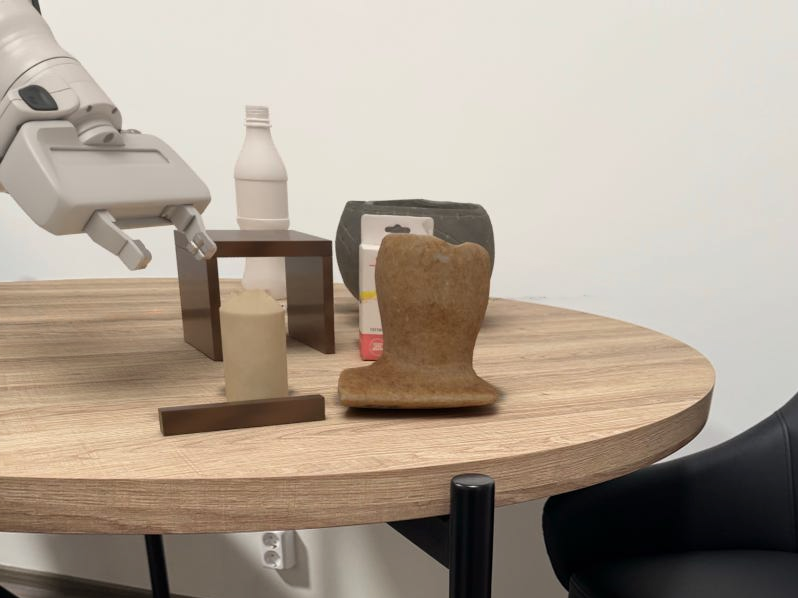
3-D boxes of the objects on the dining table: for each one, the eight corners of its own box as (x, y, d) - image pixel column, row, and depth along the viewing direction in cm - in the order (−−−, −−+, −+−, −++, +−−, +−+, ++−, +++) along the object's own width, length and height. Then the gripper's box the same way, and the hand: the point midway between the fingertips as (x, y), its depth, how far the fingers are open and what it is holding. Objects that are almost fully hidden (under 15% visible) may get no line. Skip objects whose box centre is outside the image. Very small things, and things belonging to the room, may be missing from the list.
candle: (285, 415, 83) (279, 296, 79) (222, 413, 83) (212, 294, 78) (291, 400, 88) (286, 287, 84) (231, 398, 88) (223, 285, 83)
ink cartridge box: (361, 361, 105) (359, 217, 98) (358, 352, 109) (357, 213, 102) (437, 362, 106) (441, 220, 100) (432, 353, 111) (435, 216, 104)
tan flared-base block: (481, 389, 96) (488, 229, 89) (507, 420, 85) (517, 241, 78) (330, 389, 93) (326, 223, 86) (339, 421, 82) (334, 236, 75)
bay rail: (164, 435, 76) (161, 411, 75) (160, 432, 77) (157, 407, 76) (325, 419, 83) (324, 396, 82) (320, 416, 84) (319, 393, 83)
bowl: (435, 345, 115) (438, 211, 108) (304, 323, 124) (299, 198, 117) (520, 324, 131) (527, 206, 124) (398, 305, 140) (399, 195, 133)
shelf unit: (214, 361, 101) (204, 241, 96) (184, 340, 110) (173, 229, 105) (335, 353, 108) (332, 240, 102) (297, 334, 117) (292, 229, 111)
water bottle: (242, 309, 132) (228, 103, 120) (242, 301, 138) (229, 105, 126) (294, 310, 133) (285, 107, 121) (292, 302, 139) (283, 108, 127)
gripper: (128, 157, 91) (225, 273, 92) (-43, 156, 73) (80, 298, 75) (162, 105, 87) (261, 226, 89) (-9, 91, 70) (119, 242, 72)
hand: (177, 260), depth 82 cm, fingers open, 8 cm apart
